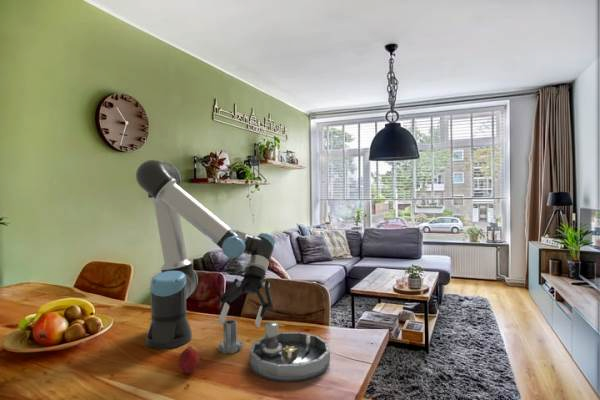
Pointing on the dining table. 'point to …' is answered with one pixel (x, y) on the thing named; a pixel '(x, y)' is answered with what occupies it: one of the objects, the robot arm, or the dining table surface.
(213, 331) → the dining table surface
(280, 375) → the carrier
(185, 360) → the onion
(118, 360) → the dining table surface
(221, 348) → the planet gear
